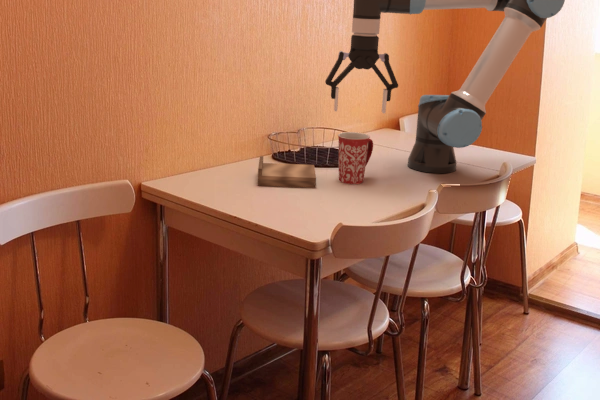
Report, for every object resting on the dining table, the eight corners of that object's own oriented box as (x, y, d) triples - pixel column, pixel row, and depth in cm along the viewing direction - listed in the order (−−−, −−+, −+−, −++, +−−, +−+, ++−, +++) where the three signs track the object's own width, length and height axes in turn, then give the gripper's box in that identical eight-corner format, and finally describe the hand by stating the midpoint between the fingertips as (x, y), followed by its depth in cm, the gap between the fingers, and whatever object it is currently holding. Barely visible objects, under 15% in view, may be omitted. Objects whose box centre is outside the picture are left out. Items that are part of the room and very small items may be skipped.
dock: (313, 174, 207) (314, 158, 206) (315, 188, 194) (316, 170, 192) (259, 172, 207) (259, 156, 205) (257, 186, 193) (258, 168, 192)
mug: (351, 187, 197) (354, 140, 193) (328, 179, 203) (331, 134, 199) (381, 180, 205) (385, 135, 201) (358, 173, 211) (362, 129, 207)
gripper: (408, 35, 195) (401, 111, 202) (319, 31, 195) (315, 107, 201) (412, 37, 188) (405, 115, 195) (320, 33, 187) (316, 112, 194)
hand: (359, 111), depth 198 cm, fingers open, 13 cm apart
